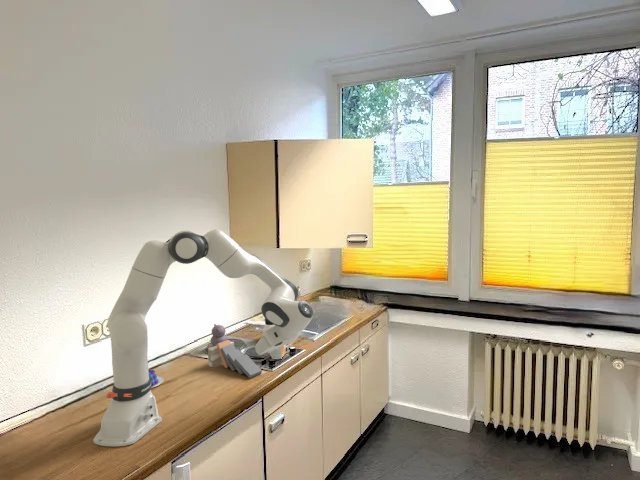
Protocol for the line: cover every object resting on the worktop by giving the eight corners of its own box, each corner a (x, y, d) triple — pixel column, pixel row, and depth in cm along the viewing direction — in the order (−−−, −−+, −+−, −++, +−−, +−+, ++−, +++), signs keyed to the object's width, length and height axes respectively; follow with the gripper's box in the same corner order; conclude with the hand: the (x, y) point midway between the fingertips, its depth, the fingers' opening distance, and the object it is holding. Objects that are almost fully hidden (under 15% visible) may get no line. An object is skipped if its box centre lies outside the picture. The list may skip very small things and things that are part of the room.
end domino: (238, 362, 199) (229, 339, 201) (227, 367, 194) (218, 343, 197) (236, 363, 200) (227, 340, 202) (225, 368, 196) (216, 344, 198)
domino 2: (252, 367, 192) (238, 349, 197) (241, 372, 187) (227, 353, 193) (251, 370, 193) (237, 351, 198) (240, 374, 188) (226, 355, 194)
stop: (234, 359, 205) (233, 342, 204) (212, 367, 197) (211, 350, 195) (230, 357, 207) (229, 340, 206) (208, 365, 198) (207, 348, 197)
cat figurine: (229, 350, 216) (228, 326, 214) (213, 353, 213) (211, 329, 211) (225, 344, 224) (224, 321, 222) (209, 347, 220) (208, 324, 219)
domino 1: (244, 364, 196) (233, 343, 200) (233, 369, 191) (221, 347, 195) (243, 366, 197) (231, 345, 201) (232, 371, 192) (220, 349, 196)
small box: (281, 360, 202) (280, 338, 201) (269, 359, 203) (268, 337, 202) (286, 353, 210) (285, 332, 209) (275, 353, 211) (274, 331, 210)
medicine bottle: (276, 342, 225) (275, 319, 224) (263, 341, 226) (262, 319, 225) (280, 337, 232) (279, 315, 231) (267, 337, 233) (266, 314, 232)
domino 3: (261, 370, 188) (246, 354, 194) (250, 375, 184) (235, 358, 190) (260, 373, 189) (245, 357, 195) (249, 378, 184) (234, 361, 190)
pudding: (145, 376, 190) (144, 364, 190) (169, 379, 187) (168, 367, 186) (125, 389, 179) (124, 376, 178) (150, 392, 175) (149, 379, 175)
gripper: (300, 318, 180) (284, 336, 187) (261, 332, 164) (246, 351, 172) (308, 331, 177) (292, 349, 185) (270, 346, 162) (254, 365, 170)
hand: (269, 350), depth 179 cm, fingers closed
